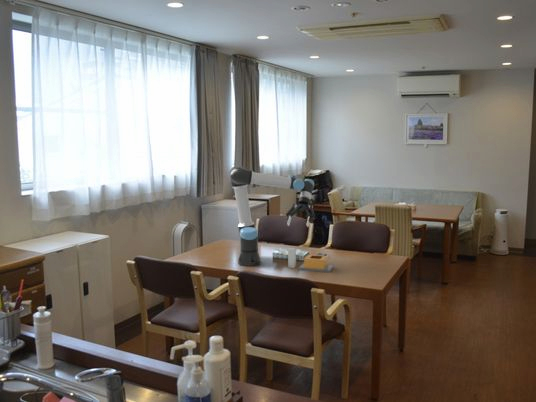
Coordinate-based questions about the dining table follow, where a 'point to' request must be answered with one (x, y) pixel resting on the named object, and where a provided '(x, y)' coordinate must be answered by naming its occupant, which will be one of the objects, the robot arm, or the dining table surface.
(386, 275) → the dining table surface
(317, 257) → the yellow and grey block
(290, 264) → the white cylinder
